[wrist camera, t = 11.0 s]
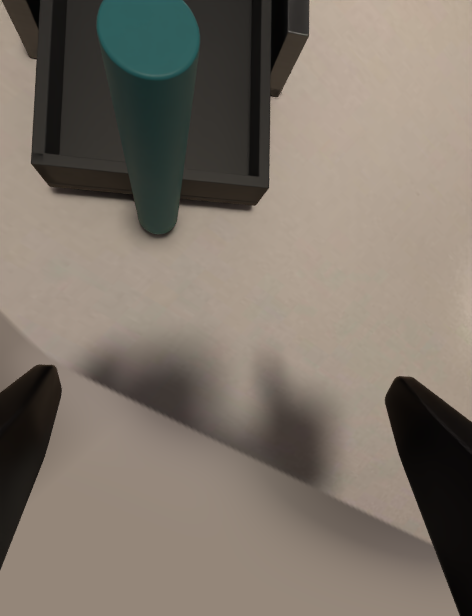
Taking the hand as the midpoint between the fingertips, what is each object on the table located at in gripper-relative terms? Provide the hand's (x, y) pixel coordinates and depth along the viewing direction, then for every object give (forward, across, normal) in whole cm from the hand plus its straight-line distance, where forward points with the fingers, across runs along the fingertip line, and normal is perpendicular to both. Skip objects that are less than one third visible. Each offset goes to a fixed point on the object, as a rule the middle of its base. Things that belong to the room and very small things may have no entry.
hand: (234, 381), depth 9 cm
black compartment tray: (+18, +4, -5) cm, 19 cm away
